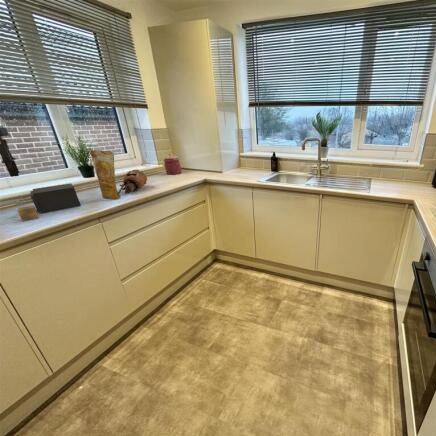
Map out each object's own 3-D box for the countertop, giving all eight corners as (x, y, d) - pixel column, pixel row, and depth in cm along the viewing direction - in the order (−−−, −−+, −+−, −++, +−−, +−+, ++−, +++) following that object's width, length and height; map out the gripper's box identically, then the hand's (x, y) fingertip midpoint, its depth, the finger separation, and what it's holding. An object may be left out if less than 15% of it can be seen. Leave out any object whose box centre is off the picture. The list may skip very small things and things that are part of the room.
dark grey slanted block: (42, 213, 123) (32, 193, 119) (41, 207, 132) (32, 188, 128) (81, 205, 133) (73, 187, 129) (77, 201, 142) (71, 183, 138)
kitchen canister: (185, 172, 219) (181, 152, 213) (176, 175, 208) (171, 154, 201) (172, 171, 222) (168, 152, 215) (163, 174, 210) (158, 154, 203)
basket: (20, 215, 118) (11, 198, 115) (21, 209, 126) (13, 193, 123) (74, 205, 132) (68, 189, 128) (72, 200, 140) (66, 185, 137)
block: (22, 221, 113) (17, 210, 111) (22, 218, 117) (17, 208, 115) (38, 218, 117) (33, 207, 115) (38, 215, 120) (33, 205, 118)
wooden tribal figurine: (109, 188, 148) (121, 168, 166) (125, 206, 158) (135, 186, 177) (132, 181, 148) (142, 162, 167) (147, 199, 159) (155, 180, 177)
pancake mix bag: (109, 193, 155) (95, 149, 145) (127, 197, 148) (113, 150, 137) (98, 196, 150) (82, 150, 139) (116, 200, 142) (101, 151, 131)
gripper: (3, 126, 104) (26, 176, 113) (7, 126, 120) (26, 170, 128) (-23, 127, 99) (2, 179, 108) (-16, 127, 115) (5, 173, 123)
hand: (15, 174), depth 118 cm, fingers open, 11 cm apart
